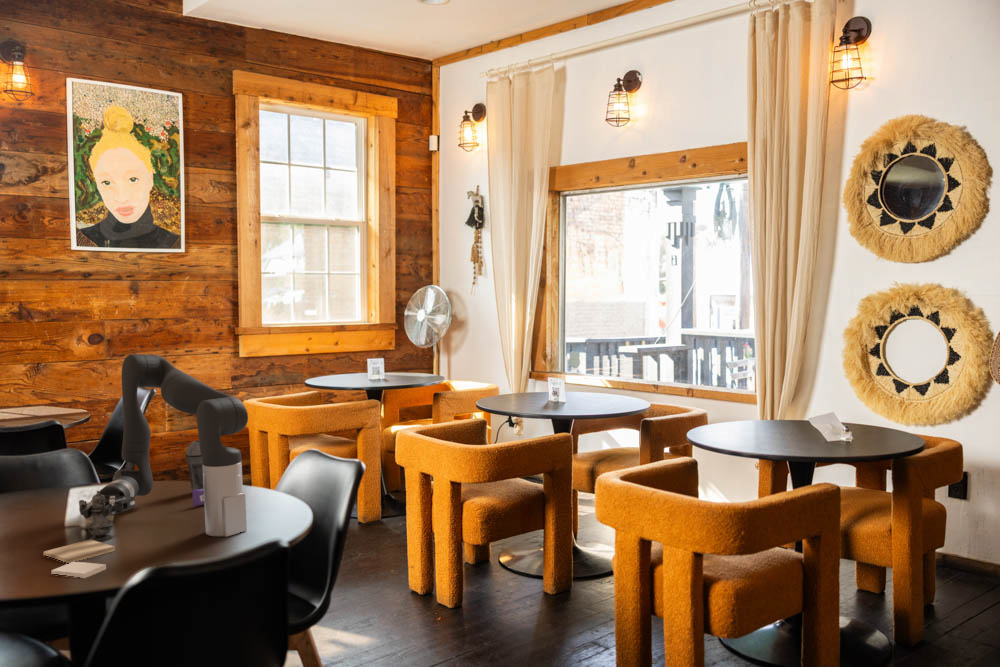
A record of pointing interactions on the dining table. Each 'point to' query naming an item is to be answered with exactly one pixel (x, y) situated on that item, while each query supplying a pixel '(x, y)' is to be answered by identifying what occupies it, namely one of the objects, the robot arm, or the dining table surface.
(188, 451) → the beverage cup
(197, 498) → the snack package
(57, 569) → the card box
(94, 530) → the salt shaker
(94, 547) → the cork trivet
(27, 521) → the dining table surface
